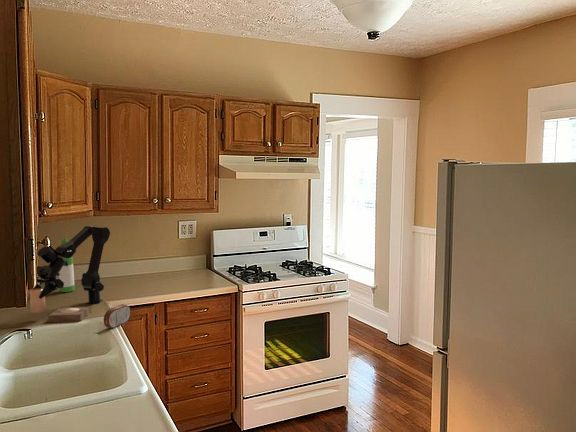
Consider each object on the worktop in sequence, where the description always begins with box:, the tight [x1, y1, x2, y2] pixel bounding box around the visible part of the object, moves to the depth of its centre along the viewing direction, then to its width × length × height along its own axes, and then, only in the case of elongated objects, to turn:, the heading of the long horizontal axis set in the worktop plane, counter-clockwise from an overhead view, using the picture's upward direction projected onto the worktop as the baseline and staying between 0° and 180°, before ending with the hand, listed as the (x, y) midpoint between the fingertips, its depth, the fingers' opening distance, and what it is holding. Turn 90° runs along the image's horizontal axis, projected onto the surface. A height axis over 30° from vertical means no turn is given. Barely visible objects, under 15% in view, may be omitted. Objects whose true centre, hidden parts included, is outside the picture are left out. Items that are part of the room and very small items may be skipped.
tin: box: [103, 304, 132, 329], centre depth 219 cm, size 15×3×8 cm, turn 159°
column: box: [29, 287, 47, 314], centre depth 228 cm, size 6×6×10 cm
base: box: [47, 305, 92, 323], centre depth 232 cm, size 14×14×3 cm
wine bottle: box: [58, 238, 76, 293], centre depth 284 cm, size 8×8×30 cm
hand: (34, 297), depth 227 cm, fingers closed on column, 6 cm apart
